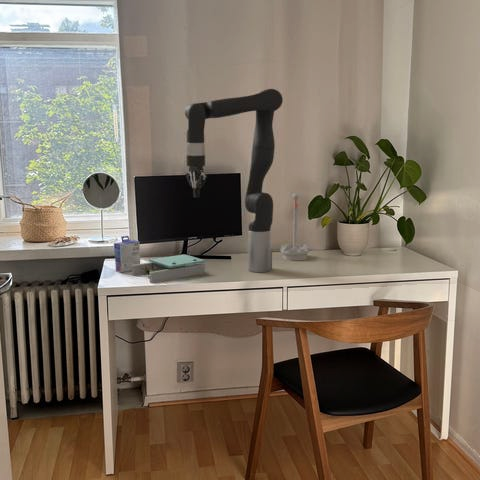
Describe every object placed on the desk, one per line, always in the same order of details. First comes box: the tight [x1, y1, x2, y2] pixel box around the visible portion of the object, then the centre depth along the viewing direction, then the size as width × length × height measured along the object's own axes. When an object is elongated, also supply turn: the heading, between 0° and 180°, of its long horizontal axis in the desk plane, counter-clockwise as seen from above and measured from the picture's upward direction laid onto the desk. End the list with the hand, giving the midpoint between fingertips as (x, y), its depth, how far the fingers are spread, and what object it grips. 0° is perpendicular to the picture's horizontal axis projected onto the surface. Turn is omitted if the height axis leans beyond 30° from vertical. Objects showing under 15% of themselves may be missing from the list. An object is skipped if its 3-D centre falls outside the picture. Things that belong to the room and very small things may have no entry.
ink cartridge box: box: [113, 235, 141, 273], centre depth 265 cm, size 10×6×14 cm, turn 131°
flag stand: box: [280, 192, 310, 261], centre depth 285 cm, size 13×13×30 cm
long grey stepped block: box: [131, 261, 206, 284], centre depth 258 cm, size 25×17×4 cm
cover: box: [148, 254, 206, 268], centre depth 259 cm, size 17×17×1 cm
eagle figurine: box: [140, 264, 156, 280], centre depth 252 cm, size 8×7×9 cm
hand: (196, 197), depth 253 cm, fingers closed
